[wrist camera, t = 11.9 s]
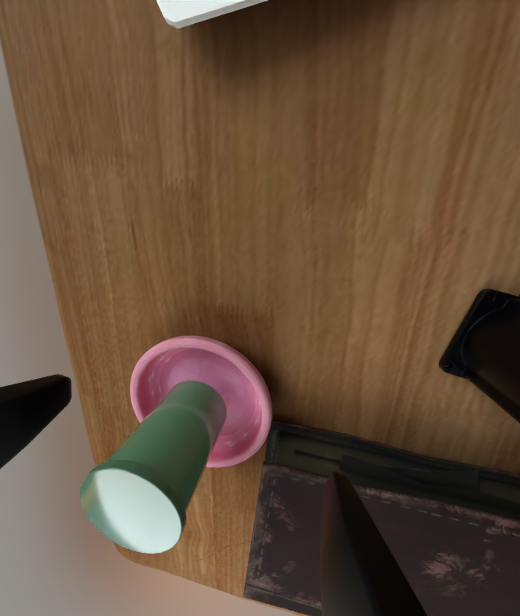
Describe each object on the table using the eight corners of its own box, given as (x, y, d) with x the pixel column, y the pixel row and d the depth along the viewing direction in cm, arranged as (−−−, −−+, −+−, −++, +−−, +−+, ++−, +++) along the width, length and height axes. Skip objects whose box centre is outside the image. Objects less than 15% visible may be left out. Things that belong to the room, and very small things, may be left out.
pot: (222, 445, 20) (173, 568, 13) (160, 422, 21) (78, 528, 13) (237, 391, 19) (190, 496, 11) (169, 367, 19) (80, 452, 11)
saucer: (199, 457, 25) (185, 486, 22) (126, 363, 24) (100, 381, 21) (302, 413, 22) (301, 441, 19) (223, 299, 20) (209, 310, 17)
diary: (493, 615, 24) (540, 706, 20) (252, 543, 28) (241, 606, 23) (588, 478, 19) (684, 559, 14) (272, 409, 22) (263, 456, 17)
